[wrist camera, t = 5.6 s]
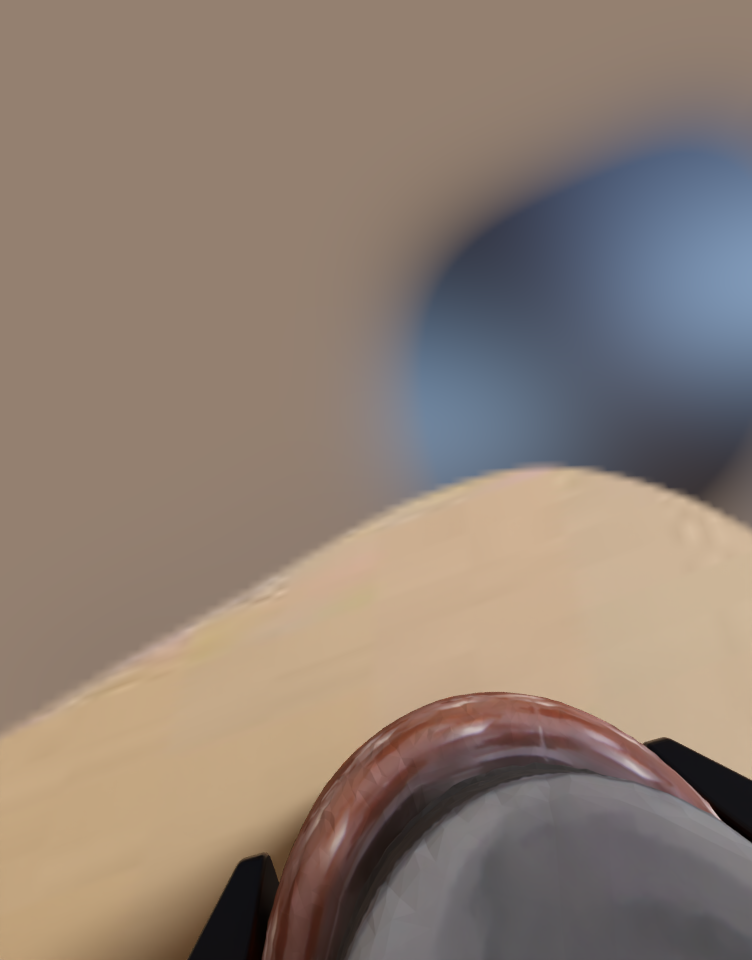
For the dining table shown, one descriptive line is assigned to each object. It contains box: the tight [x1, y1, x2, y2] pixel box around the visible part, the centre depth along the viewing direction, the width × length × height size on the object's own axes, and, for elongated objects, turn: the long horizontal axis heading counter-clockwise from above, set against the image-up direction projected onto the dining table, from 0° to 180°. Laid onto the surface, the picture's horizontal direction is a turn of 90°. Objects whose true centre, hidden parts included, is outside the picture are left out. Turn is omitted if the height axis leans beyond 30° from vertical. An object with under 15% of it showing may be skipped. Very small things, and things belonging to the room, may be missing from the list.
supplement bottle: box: [262, 692, 752, 960], centre depth 7 cm, size 6×6×11 cm
